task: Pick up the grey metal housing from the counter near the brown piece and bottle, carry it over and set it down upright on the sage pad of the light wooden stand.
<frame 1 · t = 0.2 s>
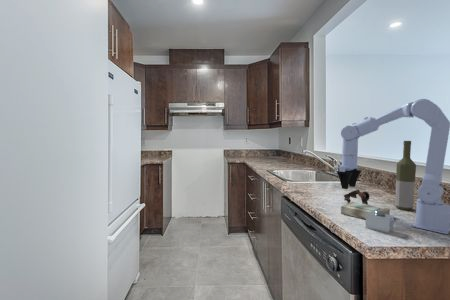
hand: (348, 187, 107), 10 cm above the worktop, tool pointing down, fingers open, 7 cm apart
bottle: (403, 209, 113), on the worktop
housing: (379, 229, 86), on the worktop
brown piece: (357, 205, 119), on the worktop
stand: (364, 214, 103), on the worktop
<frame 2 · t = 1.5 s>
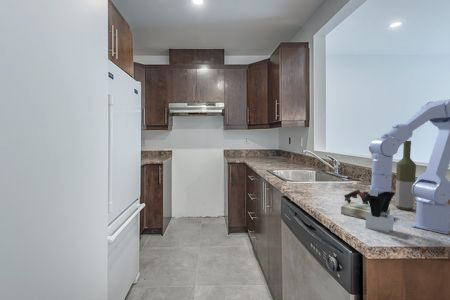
hand: (379, 214, 86), 5 cm above the worktop, tool pointing down, fingers open, 7 cm apart
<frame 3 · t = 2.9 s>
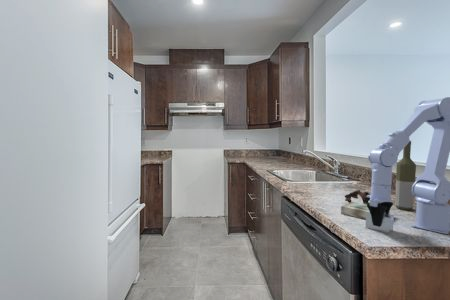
hand: (379, 224, 86), 2 cm above the worktop, tool pointing down, fingers closed on housing, 4 cm apart
housing: (379, 228, 86), on the worktop, touching gripper
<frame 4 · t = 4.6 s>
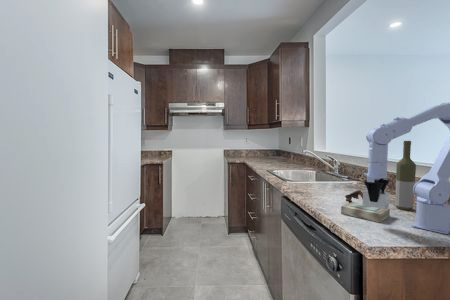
hand: (375, 200, 91), 9 cm above the worktop, tool pointing down, fingers closed on housing, 4 cm apart
housing: (375, 206, 91), point 7 cm above the worktop, touching gripper
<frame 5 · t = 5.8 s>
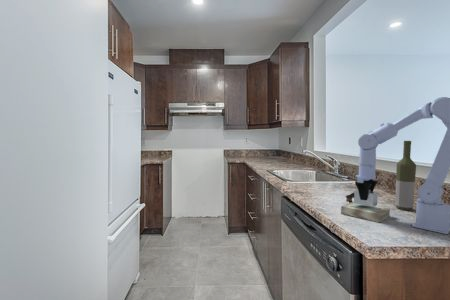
hand: (365, 199, 102), 6 cm above the worktop, tool pointing down, fingers closed on housing, 5 cm apart
housing: (365, 204, 102), point 4 cm above the worktop, touching gripper
when the fingers open (6 cm above the worktop, at t = 6.5 s): housing drops 1 cm, resting on stand.
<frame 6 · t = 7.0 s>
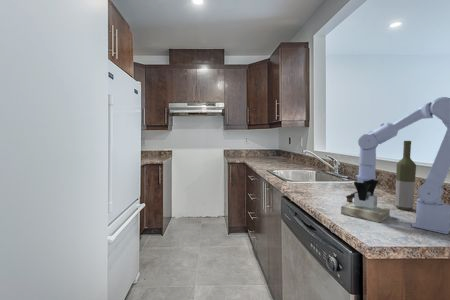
hand: (365, 199, 102), 6 cm above the worktop, tool pointing down, fingers open, 7 cm apart
housing: (365, 206, 102), point 3 cm above the worktop, touching stand
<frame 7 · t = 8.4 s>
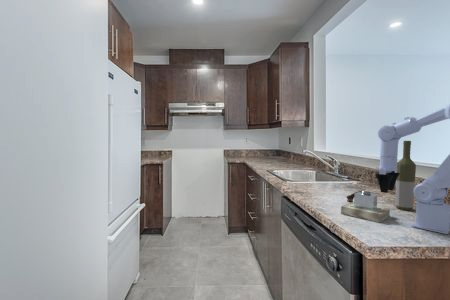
hand: (387, 191, 101), 10 cm above the worktop, tool pointing down, fingers open, 7 cm apart
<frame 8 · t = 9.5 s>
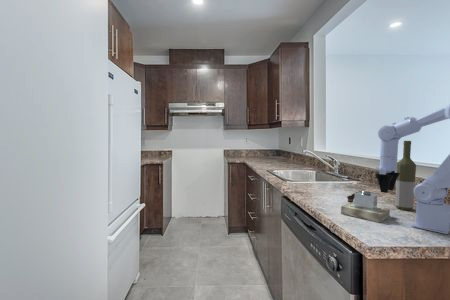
hand: (387, 191, 101), 10 cm above the worktop, tool pointing down, fingers open, 7 cm apart
at the end: housing inside the target area on the stand (0.1 cm from its centre), point 3.3 cm above the stand's base; housing tilted 0°; the gripper is holding nothing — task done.
